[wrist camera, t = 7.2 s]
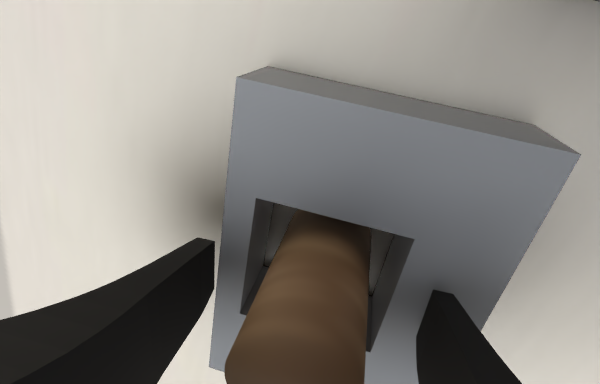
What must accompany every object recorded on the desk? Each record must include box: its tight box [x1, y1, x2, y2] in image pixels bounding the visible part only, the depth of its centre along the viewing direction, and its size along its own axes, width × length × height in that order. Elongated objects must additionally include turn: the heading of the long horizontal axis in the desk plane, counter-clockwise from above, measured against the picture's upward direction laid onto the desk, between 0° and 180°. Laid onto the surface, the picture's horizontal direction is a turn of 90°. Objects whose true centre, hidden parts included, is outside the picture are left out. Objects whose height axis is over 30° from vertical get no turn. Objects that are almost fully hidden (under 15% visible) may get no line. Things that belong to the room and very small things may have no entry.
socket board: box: [209, 66, 581, 384], centre depth 13 cm, size 9×12×3 cm
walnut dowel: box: [224, 209, 371, 384], centre depth 12 cm, size 3×3×7 cm
